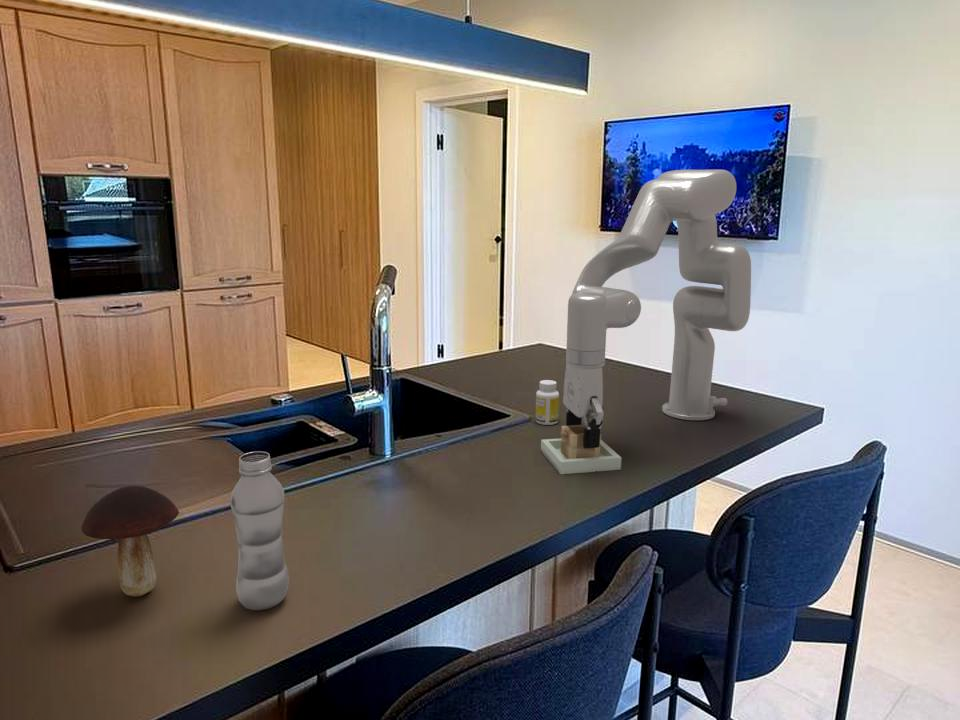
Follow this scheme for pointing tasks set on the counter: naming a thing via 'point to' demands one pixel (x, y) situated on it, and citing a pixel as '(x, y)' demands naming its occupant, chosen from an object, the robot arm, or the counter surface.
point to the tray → (580, 459)
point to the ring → (576, 443)
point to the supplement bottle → (547, 403)
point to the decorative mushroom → (131, 531)
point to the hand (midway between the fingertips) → (582, 438)
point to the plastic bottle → (259, 533)
